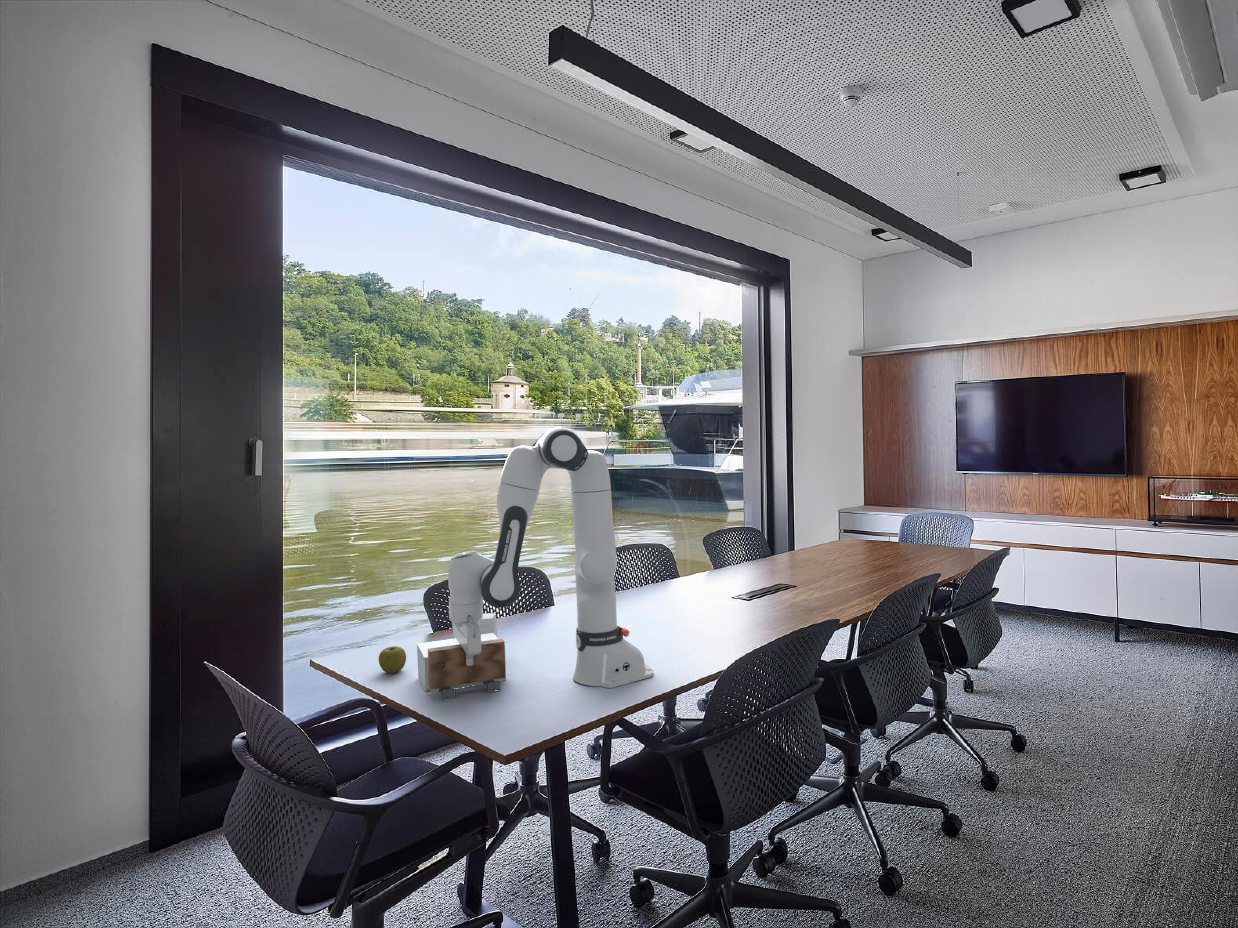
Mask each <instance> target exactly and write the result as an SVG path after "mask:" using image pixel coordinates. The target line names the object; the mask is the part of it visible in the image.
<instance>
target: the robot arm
mask: <svg viewBox="0 0 1238 928" xmlns="http://www.w3.org/2000/svg"><path fill="white" fill-rule="evenodd" d="M551 468H552V469H554V468H555V469H562V470H566V471H567V472H568V474H569V479H570V487H571V488H570V491H571V504H572V505H571V508H572V522H573V523H572V524H573V533H574V547H575V548H574V549H575V551H574V568H575V569H574V571H575V573H574V574H575V590H576V618H577V619H576V620H577V623H576V624H577V627H576V628H575V630H576V631H575V633H576V635H575V643H576V644H575V645H576V649H577V652H576V653H577V654H576V664H575V668H574V673H573V676H572V677H573V681H575V682H576V683H578V684H581V685H585V686H591V687H601V688H602V687H603V688H608V689H609V688H610V689H613V688H617V687H619V686H623V685H626V684H630V683H633V682H637V681H640V680H644V679H648V678H652V677H653V675H654V671H653V669H652V667H650V665H648V664H647V663H645V659H644V656H643V653H642V651H641V650H640V649H638V648H637V646H635V645H633V644H632V643H631V642H629V641H628V640H626V639H625V638H627V637H628V636H629V635H630V633H631V632H630V630H628V629H627V628H626V627H625V628H623V627H621V626H619V625H618V621H617V620H618V619H617V596H616V585H615V573H616V571H617V566H618V557H617V545H616V536H615V528H614V527H615V526H614V518H613V517H614V516H613V504H612V503H613V502H612V500H613V499H612V489H611V487H612V486H611V477H610V472H609V467H608V463H607V459H606V457H605V455H604V454H603V453H602V452H599V451H596V450H593V449H592V450H590V449H587V447H586V446H585V445H584V442H583V441H582V439H581V438H580V436H579V435H578V433H576V432H575V431H573V430H572V429H570V428H566V427H553V428H550V429H549V430H547V431H545V432H544V433H542V435H540V437H539V438H538V439H537V440H536V441H535V442H534V443H533V444H532V445H531V446H529V445H519V446H515V447H513V448H512V449H511V450H510V451H509V453H508V456H507V458H506V460H505V462H504V465H503V468H502V471H501V474H500V478H499V483H498V487H497V492H496V493H497V494H496V510H497V514H498V520H499V536H498V541H497V546H496V549H495V555H494V558H490V557H487V556H485V555H483V554H482V553H480V552H479V551H478V550H466V551H462V552H459V553H457V554H455V555H453V556H452V557H451V559H450V560H449V564H448V570H447V571H448V573H447V582H448V589H449V593H450V594H449V598H448V615H449V617H448V619H449V621H451V626H452V627H451V628H452V633H453V637H454V638H456V640H457V641H458V643H459V644H460V645H461V647H462V648H463V649H464V651H465V653H466V658H465V661H466V662H465V663H466V665H467V666H472V665H473V657H474V655H479V654H481V634H480V627H479V625H478V620H479V619H481V618H482V617H483V614H484V610H483V609H484V608H483V603H484V602H485V603H486V604H488V605H489V606H491V607H492V608H493V607H494V608H498V609H499V608H500V609H502V608H506V607H509V606H511V605H513V604H514V603H515V602H516V601H517V600H518V598H519V597H520V593H521V589H522V588H521V581H520V576H519V564H520V563H519V562H520V558H521V554H522V548H523V543H524V537H525V534H526V531H527V528H528V525H529V522H530V520H531V517H532V515H533V513H534V509H535V507H536V505H537V500H538V498H539V494H540V488H541V485H542V479H543V477H544V475H545V473H546V472H547V470H549V469H551ZM483 600H484V602H483ZM624 637H625V638H624Z"/></svg>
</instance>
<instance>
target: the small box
mask: <svg viewBox="0 0 1238 928" xmlns="http://www.w3.org/2000/svg"><path fill="white" fill-rule="evenodd" d="M478 625H479V627H480V634H481V635H482V634H489V633H494V635H495V636H496V637H497V638H498V629H497V625H498V624H497V614H496V613H483V617H482V618H481V619H479V620H478Z"/></svg>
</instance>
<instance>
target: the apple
mask: <svg viewBox="0 0 1238 928" xmlns="http://www.w3.org/2000/svg"><path fill="white" fill-rule="evenodd" d="M406 662H407V653H406V651H405V650H404V648H403V647H401V646H395V645H393V646H389V647H386V648H384V649H382V650H381V651H380V653H379V655H378V664H379V667H380V668H381V670H382V671H383V672H385V673H386V674H395V673H398V672H399V671H401V670H402V669H404V668H405V665H406Z"/></svg>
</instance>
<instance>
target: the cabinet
mask: <svg viewBox="0 0 1238 928" xmlns="http://www.w3.org/2000/svg"><path fill="white" fill-rule="evenodd" d="M495 639H499V638H498V636H497V637H496V636H495V635H494V633H489V634H482V635H481V641H488V640H495ZM451 645H459V643H458V641H457V640H456V638H455V637H454V638H447V639H441V640H434V641H426V642H420V643H419V642H418V643H416V653H417V675H418V677H417V679H418V680H419V682H421V683H420V685H421V688H422V689H423V691H424V693H426V694H425V695H430V694H429V693H431V694H435V692H437V693H439V692H441V693H442V700H443V701H446V700H445V699H448V700H453V699H452V698H454V699H456V697H455V696H456V693H455V690H456V689H454V688H460V689H463V688H462V687H466V688H468V687H467V686H472V685H478V686H481V685H480V684H483V686H486V685H485V684H488V685H487V692H488V693H492V692H491V691H494V692H496V691H495V690H499V691H500V690H501V689H500V687H501V685H500V682H499V681H501V682H503V681H502V680H506V681H507V670H506V661H505V678H500V679H493V680H487V681H481V682H474V683H468V684H462V685H456V686H449V687H443V688H437V689H430V687H429V673H428V649H429V648H437V647H444V646H451ZM472 687H473V686H472Z"/></svg>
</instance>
